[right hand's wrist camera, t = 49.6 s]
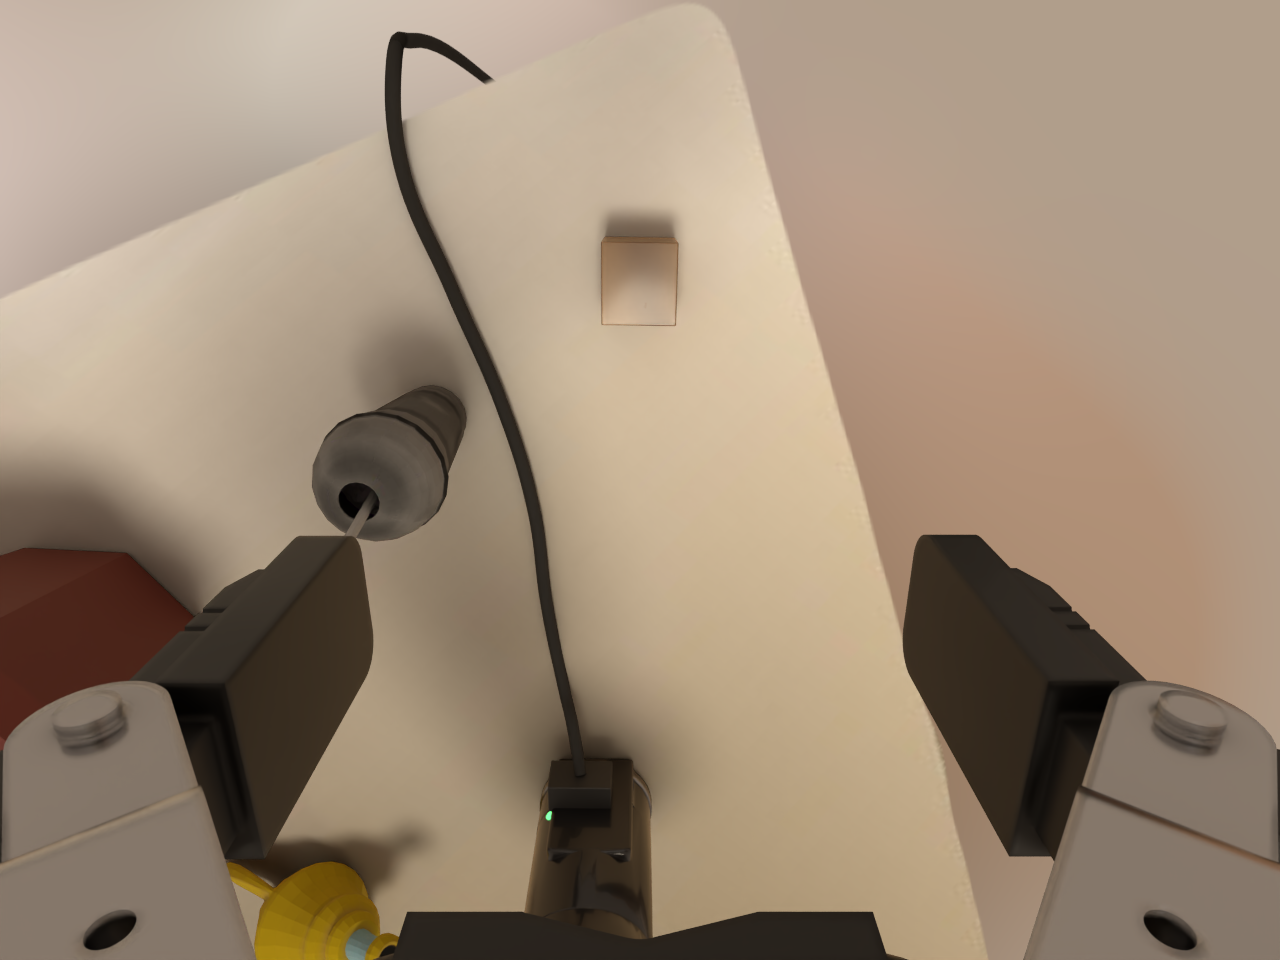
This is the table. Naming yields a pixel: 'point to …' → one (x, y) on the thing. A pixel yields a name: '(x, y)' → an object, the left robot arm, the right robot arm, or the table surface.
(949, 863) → the table surface
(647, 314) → the block
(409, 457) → the beverage cup
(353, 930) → the toy
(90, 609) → the bucket
